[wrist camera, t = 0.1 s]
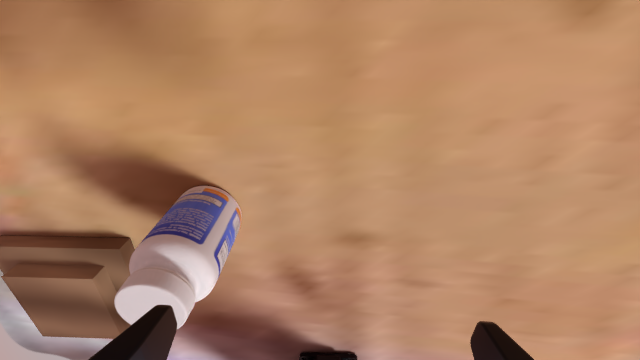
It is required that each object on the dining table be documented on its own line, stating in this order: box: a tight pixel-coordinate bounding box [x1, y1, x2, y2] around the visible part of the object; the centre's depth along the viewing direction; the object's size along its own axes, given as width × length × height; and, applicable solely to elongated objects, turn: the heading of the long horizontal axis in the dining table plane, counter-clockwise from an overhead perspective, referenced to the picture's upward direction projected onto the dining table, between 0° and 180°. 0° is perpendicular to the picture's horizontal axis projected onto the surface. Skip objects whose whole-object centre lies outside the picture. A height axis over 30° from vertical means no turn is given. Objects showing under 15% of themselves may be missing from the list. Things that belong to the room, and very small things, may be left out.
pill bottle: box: [114, 186, 242, 329], centre depth 20 cm, size 5×5×10 cm
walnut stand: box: [0, 235, 135, 339], centre depth 28 cm, size 12×12×3 cm
